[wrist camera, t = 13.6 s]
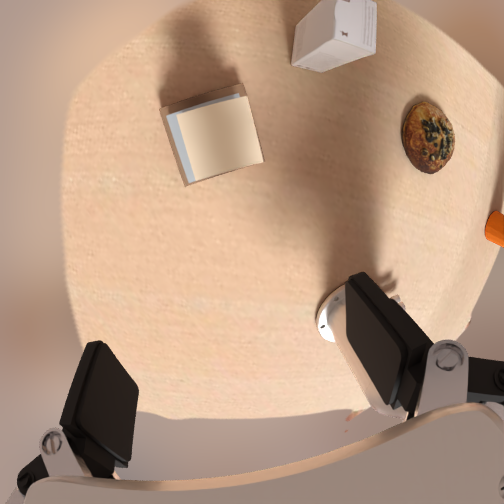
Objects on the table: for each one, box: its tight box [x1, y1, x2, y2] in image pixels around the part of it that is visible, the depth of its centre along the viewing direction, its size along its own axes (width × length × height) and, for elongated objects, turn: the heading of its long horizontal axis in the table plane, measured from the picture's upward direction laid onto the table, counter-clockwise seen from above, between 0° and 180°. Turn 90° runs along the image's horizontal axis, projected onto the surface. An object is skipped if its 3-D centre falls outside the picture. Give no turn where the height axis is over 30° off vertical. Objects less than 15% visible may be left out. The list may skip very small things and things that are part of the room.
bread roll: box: [402, 102, 455, 174], centre depth 32 cm, size 11×11×5 cm
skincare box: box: [291, 0, 377, 73], centre depth 20 cm, size 6×4×12 cm
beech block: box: [176, 96, 263, 181], centre depth 21 cm, size 5×5×7 cm
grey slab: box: [166, 93, 240, 183], centre depth 26 cm, size 7×7×3 cm
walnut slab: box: [159, 83, 265, 186], centre depth 28 cm, size 9×9×3 cm
